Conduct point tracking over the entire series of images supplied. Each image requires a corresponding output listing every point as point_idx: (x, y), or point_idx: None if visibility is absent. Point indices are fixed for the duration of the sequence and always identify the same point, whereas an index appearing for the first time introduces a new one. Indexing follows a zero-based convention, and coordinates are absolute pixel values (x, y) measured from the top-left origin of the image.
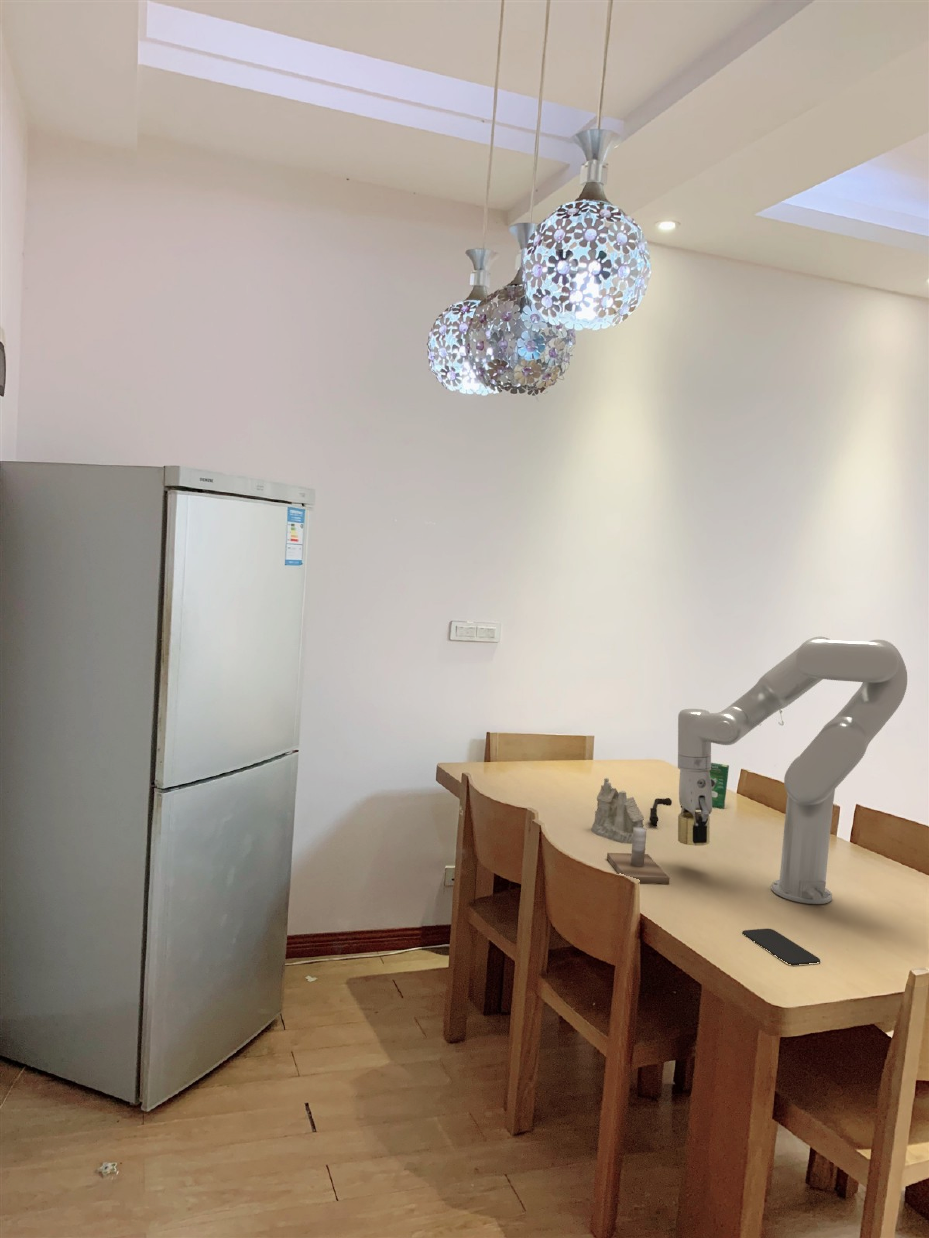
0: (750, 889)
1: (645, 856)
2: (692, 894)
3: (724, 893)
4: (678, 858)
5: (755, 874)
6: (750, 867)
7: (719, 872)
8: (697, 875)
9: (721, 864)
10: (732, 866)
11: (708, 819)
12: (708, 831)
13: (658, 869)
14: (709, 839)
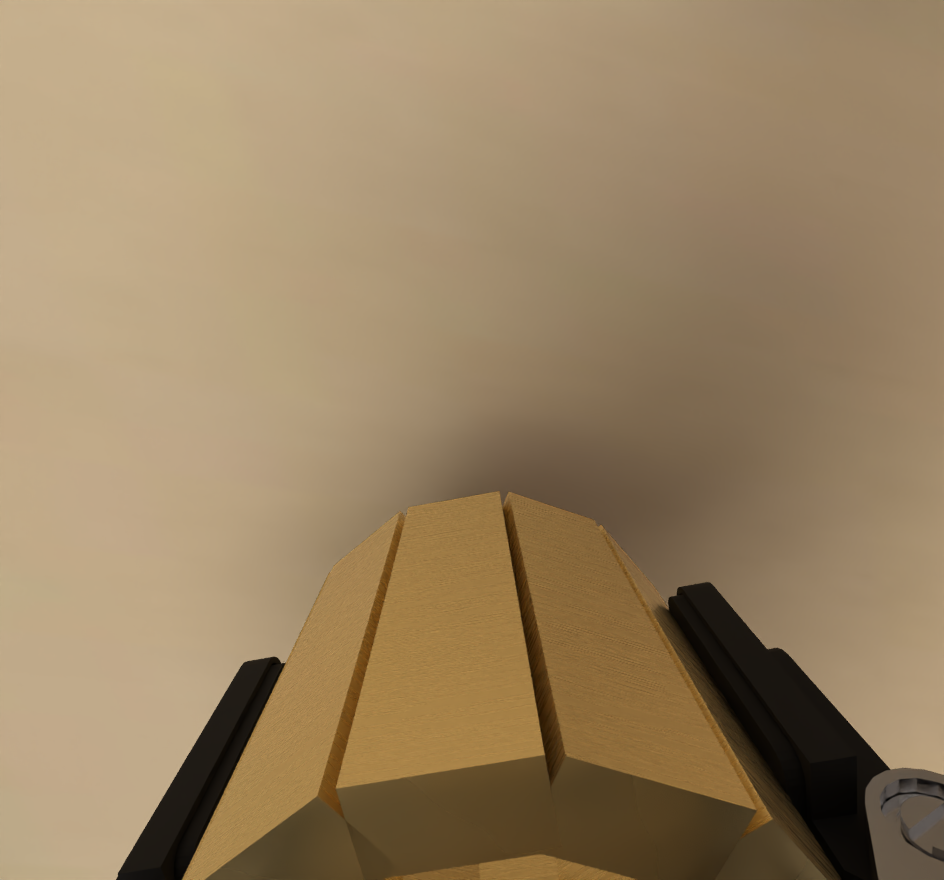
0: (777, 152)
1: None
2: (924, 588)
3: (883, 375)
4: (203, 585)
5: (402, 5)
6: (218, 2)
7: (440, 323)
8: (553, 503)
9: (228, 266)
10: (249, 176)
11: (741, 783)
12: (641, 606)
13: None
14: (530, 511)
